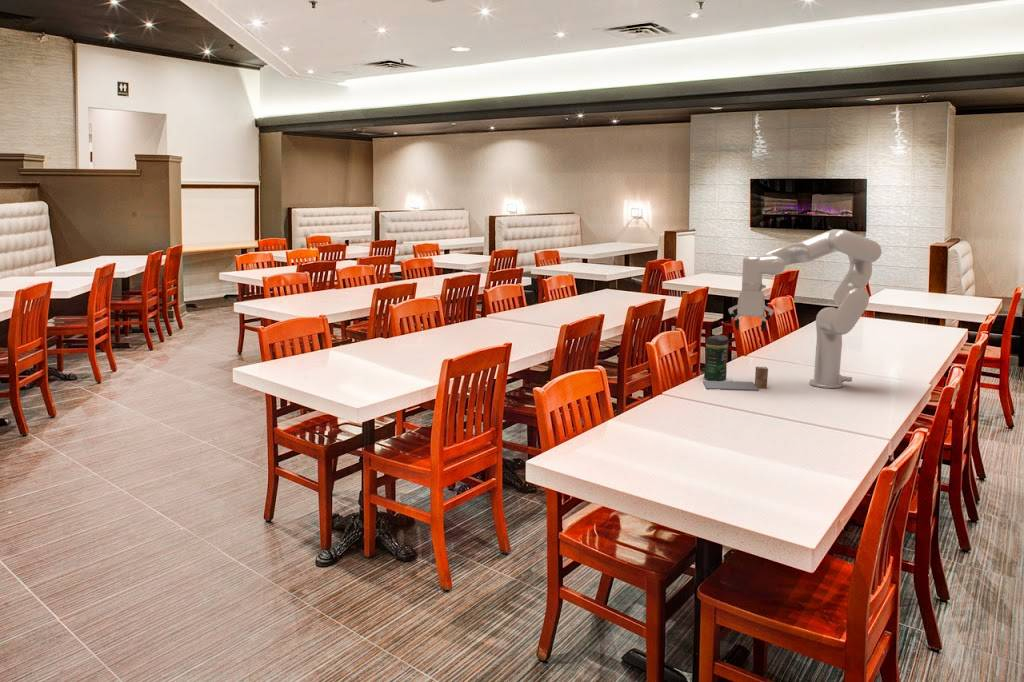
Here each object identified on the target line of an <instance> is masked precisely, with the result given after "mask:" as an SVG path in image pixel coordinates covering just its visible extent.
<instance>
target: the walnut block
mask: <svg viewBox="0 0 1024 682" xmlns="http://www.w3.org/2000/svg"><path fill="white" fill-rule="evenodd" d="M754 373H755V375H754V384H755V385H756V387H757V388H758V389H768V379H769V378H768V376H769V374H768V373H769V368H768V367H767V366H755V372H754Z"/></svg>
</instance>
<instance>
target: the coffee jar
mask: <svg viewBox="0 0 1024 682" xmlns="http://www.w3.org/2000/svg"><path fill="white" fill-rule="evenodd" d="M728 347H729V338H728V336H727V335H722V334H717V335H712V336H708V337H706V341H705V350H706V351H705V363H704V373H703V375H704V376H703V377H704V379H706V380H707V381H717V380H719V381H724V380H725V379H727V369H728V367H727V366H728V365H727V362H728V361H727V360H728V359H727V358H728Z"/></svg>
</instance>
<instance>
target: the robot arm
mask: <svg viewBox="0 0 1024 682" xmlns="http://www.w3.org/2000/svg"><path fill="white" fill-rule="evenodd" d="M835 252H840V253H842V254H845V255H847V257H848V261H849V268H848V271H847V272H846V275H845V276H844V278H843V280H842V281H841V282H840V284H839V286H838V287H837V288H836V290H835V292H834V294H833V302H834V303H835V304H836V305H837V307H832V306H830V307H824V308H821V310H819V311H818V313H817V314H816V316H815V317H816V318H815V326H816V327H815V329H816V342H815V343H816V344H815V345H816V346H815V354H814V357H815V359H814V371H813V379H810V380H809V385H811V386H813V387H817V388H823V389H839V388H843V387H844V382H848V383H852V381H853V377H852V376H845V375H841V360H842V348H843V336H844V335H846V334H849V333H850V332H851V331H852V330H853V329H854V327H855V326H856V324H857V322H858V321H859V320H860V318H861V317H862V315H863V314H864V313H865V311H866V309H867V307H868V305H869V302H870V294H869V292H868V291H867V289H865V288H866V287H867V285H868V283H869V282H870V280H871V277H872V275H873V274H872V273H873V264H872V263H875V262H876V261H878V260H879V259H880V258H881V256H882V247H881V246H880V244H879V243H878V242H877V241H875V240H873V239H870V238H868V237H864V236H862V235H859V234H857V233H855V232H852V231H850V230H847V229H838V228H837V229H830V230H827V231H825V232H823V233H819V234H818V235H815V236H812V237H810V238H806V239H804V240H802V241H799V242H795V243H792V244H789V245H786V246H782V247H780V248H777V249H775V250H772V251H769V252H767V253H765V254H763V255H761V256H759V255H758V256H757V255H749V256H745V257H744V258H743V259H742V275H741V276H742V277H741V289H740V290H739V295H738V300H737V304H736V305H734V306H732V307H729V308H728V313H729V315H730V316H731V318H733V321H734V328H735V330H736V331H739V330H740V319H739V318H740V317H756V318H757V317H759V318H760V319H761V320H762V321H761V327H760V330H761V332H764V331H765V330H766V329H767V328H766V327H767V321H768V320H769V319H770V318H771V317H772V315H773V314H774V313H775V310H774V309H772V308H770V307H769V306H767V305H766V303H765V302H766V301H765V300H766V299H765V292H764V290H765V289H766V287H767V286H766V285H765V284H763V275H769V276H777V275H780V274H782V273H783V272H784V271H785V269H786V266H789V265H793V264H804V263H808V262H813V261H815V260H817V259H820V258H821V257H825V256H826V255H830V254H832V253H835ZM735 310H736V311H737V314H735V313H734V311H735ZM766 311H767V312H768V314H767V315H766V316H765V315H764V314H765V312H766ZM842 335H843V336H842Z"/></svg>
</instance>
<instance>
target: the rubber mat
mask: <svg viewBox="0 0 1024 682" xmlns="http://www.w3.org/2000/svg"><path fill="white" fill-rule="evenodd" d="M702 383H703V385H704V387H705V389H706V390H709V389H720V390H721V391H747V392H748V391H750V392H751V391H752V392H757V391H758V392H759V389H760V388H757V387H756V385H755V382H753V381H736V380H735V381H734V380H719V381H717V380H702ZM720 390H719V391H720Z"/></svg>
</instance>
